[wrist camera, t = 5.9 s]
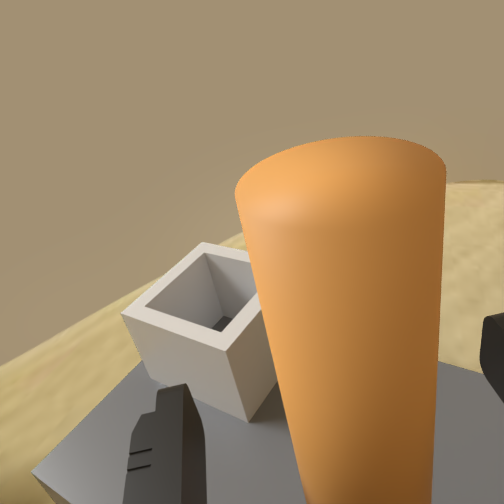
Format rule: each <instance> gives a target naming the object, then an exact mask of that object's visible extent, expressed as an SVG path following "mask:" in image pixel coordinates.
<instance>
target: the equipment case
mask: <svg viewBox="0 0 504 504" xmlns="http://www.w3.org/2000/svg"><path fill="white" fill-rule="evenodd" d="M121 315H122V318H123V320H124V322H125V324H126V326H127V328H128V330H129V333H130V335H131V337H132V339H133V341H134V343H135V346H136V348H137V350H138V352H139V354H140V356H141V359H142V361H141V362H140V363H139V364H138V365H137V366H136V367H135V368H134V369H133V370H132V371H131V372H130V373H129V374H128V375H127V376H126V377H125V378H124V379H123V380H122V381H121V382H120V383H119V384H118V385H117V386H116V387H115V388H114V389H113V390H112V391H111V392H110V393H109V394H108V395H107V396H106V397H105V398H104V399H103V400H102V401H101V402H100V403H99V404H98V405H97V406H96V407H95V408H94V409H93V410H92V411H91V412H90V413H89V414H88V415H87V416H86V417H85V418H84V419H83V420H82V421H81V422H80V423H79V424H78V425H77V426H76V427H75V428H74V429H73V430H72V431H71V432H70V433H69V434H68V435H67V436H66V437H65V438H64V439H63V440H62V441H61V442H60V443H59V444H58V445H57V446H56V447H55V448H54V449H53V450H52V451H51V452H50V453H49V454H48V455H47V456H46V457H45V458H44V459H43V460H42V461H41V462H40V463H39V464H38V465H37V466H36V467H35V468H34V469H33V470H32V471H31V473H32V474H33V476H34V477H35V478H36V479H37V481H38V482H39V483H40V484H41V486H42V487H43V488H44V489H45V491H46V492H47V493H48V494H49V496H50V497H51V498H52V499H53V501H54V502H55V503H56V504H122V503H123V496H124V488H125V480H126V474H127V464H128V457H129V449H130V441H131V433H132V431H133V430H134V428H135V426H136V424H137V422H138V420H139V418H140V416H141V414H145V413H150V412H154V411H155V407H156V395H157V391H158V389H162V388H166V387H171V386H175V385H180V384H184V383H186V384H187V385H188V387H189V390H190V392H191V395H192V397H193V400H194V402H195V405H196V407H197V410H198V412H199V414H200V417H201V420H202V423H203V428H204V434H205V447H206V481H207V504H306V499H305V495H304V491H303V486H302V482H301V478H300V474H299V469H298V465H297V461H296V456H295V452H294V448H293V443H292V439H291V435H290V431H289V426H288V422H287V418H286V413H285V409H284V405H283V401H282V396H281V392H280V388H279V383H278V379H277V375H276V370H275V366H274V362H273V358H272V353H271V349H270V345H269V340H268V336H267V332H266V328H265V323H264V319H263V315H262V310H261V306H260V302H259V298H258V293H257V289H256V285H255V280H254V276H253V272H252V267H251V263H250V259H249V255H248V251H243V250H238V249H234V248H229V247H224V246H219V245H214V244H209V243H204V242H201V243H200V244H199V245H198V246H197V247H196V248H195V249H193V250H192V251H191V252H190V253H189V254H188V255H187V256H186V257H184V258H183V259H182V260H181V261H180V262H178V263H177V264H176V265H175V266H174V267H173V268H172V269H170V270H169V271H168V272H167V273H166V274H165V275H164V276H162V277H161V278H160V279H159V280H158V281H157V282H156V283H154V284H153V285H152V286H151V287H150V288H149V289H148V290H146V291H145V292H144V293H143V294H142V295H141V296H140V297H138V298H137V299H136V300H135V301H134V302H133V303H131V304H130V305H129V306H128V307H127V308H126V309H125V310H123V311H122V312H121ZM431 504H504V403H503V402H502V400H501V399H500V397H499V396H498V395H497V393H496V392H495V390H494V389H493V388H492V386H491V385H490V383H489V382H488V381H487V379H486V377H485V375H484V374H481V373H478V372H474V371H471V370H467V369H464V368H460V367H457V366H453V365H450V364H446V363H443V362H439V361H438V368H437V390H436V412H435V435H434V457H433V479H432V501H431Z"/></svg>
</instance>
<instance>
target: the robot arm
mask: <svg viewBox="0 0 504 504" xmlns="http://www.w3.org/2000/svg"><path fill="white" fill-rule="evenodd" d="M480 364H481V368H482V371H483V373H484V375H485V377H486V379H487V381H488V382H489V383H490V385H491V386H492V388H493V389H494V390H495V392H496V393H497V395H498V396H499V397H500V399H501V400H502V402H503V403H504V313H500V314H495V315H491V316H487V317H485V318H484V321H483V329H482V338H481V348H480ZM122 504H207V481H206V447H205V434H204V428H203V423H202V420H201V417H200V414H199V412H198V410H197V407H196V405H195V402H194V400H193V397H192V395H191V392H190V390H189V387H188V385H187V384H186V383H184V384H180V385H175V386H171V387H166V388H162V389H158V391H157V395H156V407H155V411H154V412H150V413H145V414H141V416H140V418H139V420H138V422H137V424H136V426H135V428H134V430H133V431H132V433H131V441H130V449H129V457H128V464H127V474H126V480H125V488H124V496H123V503H122Z"/></svg>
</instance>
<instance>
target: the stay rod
mask: <svg viewBox="0 0 504 504" xmlns="http://www.w3.org/2000/svg"><path fill="white" fill-rule="evenodd" d="M445 191H446V167H445V164H444V162H443V161H442V159H441V158H440V157H439V156H438V155H437V154H436V153H434V152H433V151H432V150H430V149H428V148H426V147H424V146H422V145H419V144H416V143H413V142H409V141H406V140H401V139H396V138H388V137H375V136H355V137H341V138H333V139H326V140H320V141H315V142H311V143H307V144H303V145H299V146H296V147H293V148H290V149H287V150H284V151H282V152H279V153H277V154H275V155H272V156H270V157H268V158H266V159H264V160H263V161H261V162H259V163H258V164H256V165H255V166H253V167H252V168H251V169H250V170H248V171H247V172H246V173H245V174H244V175H243V177H242V178H241V179H240V181H239V182H238V184H237V186H236V189H235V199H236V203H237V207H238V212H239V216H240V220H241V224H242V229H243V233H244V237H245V242H246V246H247V250H248V255H249V259H250V263H251V267H252V272H253V276H254V280H255V285H256V289H257V293H258V298H259V302H260V306H261V310H262V315H263V319H264V323H265V328H266V332H267V336H268V340H269V345H270V349H271V353H272V358H273V362H274V366H275V370H276V375H277V379H278V383H279V388H280V392H281V396H282V401H283V405H284V409H285V413H286V418H287V422H288V426H289V431H290V435H291V439H292V443H293V448H294V452H295V456H296V461H297V465H298V469H299V474H300V478H301V482H302V486H303V491H304V495H305V499H306V504H431V501H432V479H433V457H434V435H435V412H436V390H437V368H438V346H439V324H440V302H441V279H442V257H443V235H444V213H445Z"/></svg>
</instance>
